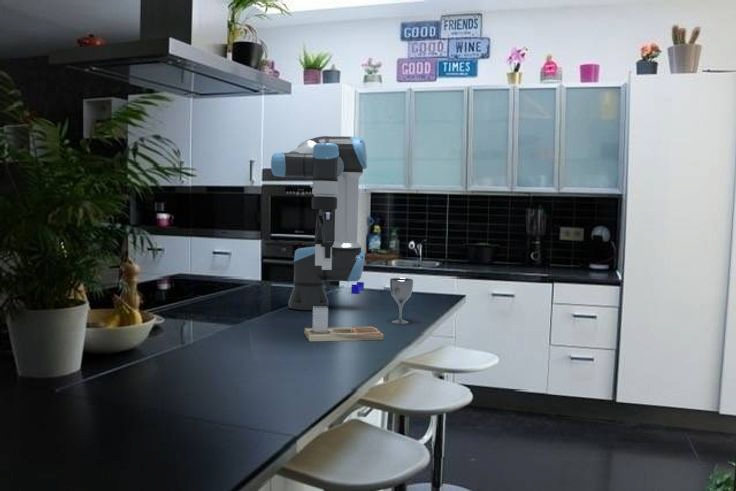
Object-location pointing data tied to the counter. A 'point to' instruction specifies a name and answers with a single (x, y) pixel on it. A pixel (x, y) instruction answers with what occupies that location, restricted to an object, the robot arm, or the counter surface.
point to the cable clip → (357, 288)
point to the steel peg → (320, 319)
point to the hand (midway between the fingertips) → (322, 267)
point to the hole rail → (345, 334)
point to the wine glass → (401, 294)
